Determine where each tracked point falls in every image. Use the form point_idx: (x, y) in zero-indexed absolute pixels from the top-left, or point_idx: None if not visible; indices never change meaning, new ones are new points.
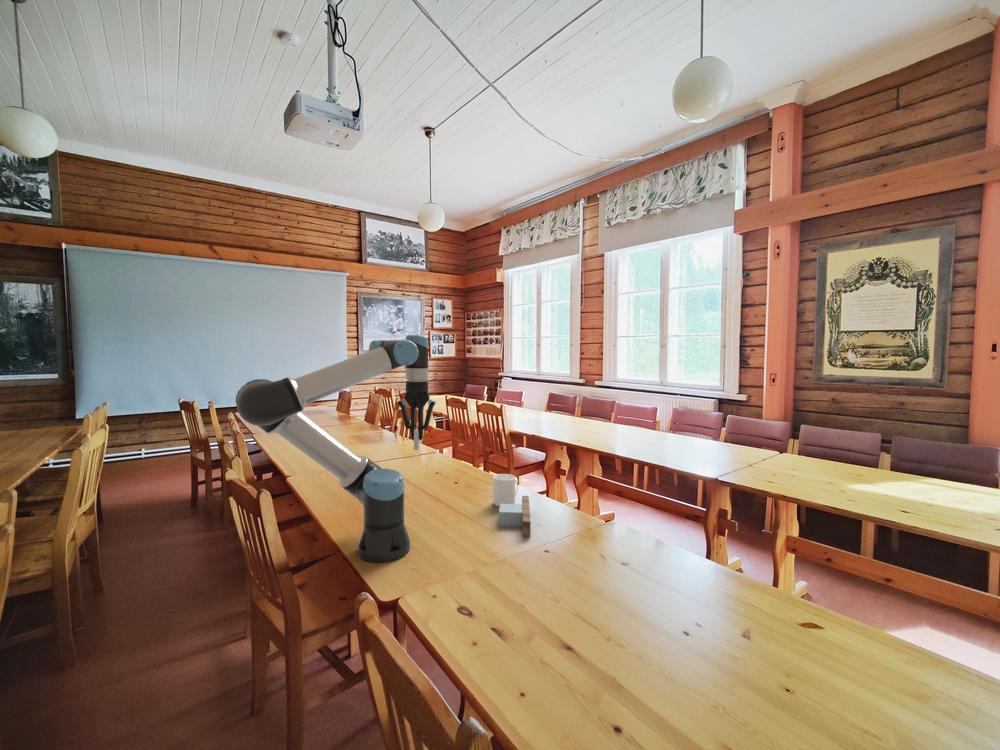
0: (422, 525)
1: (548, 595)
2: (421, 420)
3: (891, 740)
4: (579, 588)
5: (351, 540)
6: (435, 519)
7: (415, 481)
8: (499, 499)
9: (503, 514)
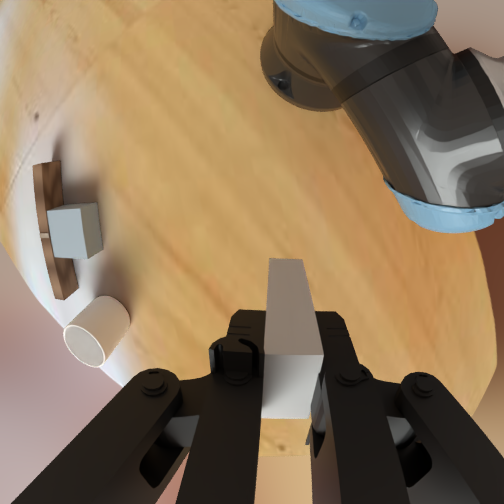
0: (261, 188)
1: (56, 15)
2: (183, 485)
3: None
4: (27, 42)
5: None
6: (236, 226)
7: None
8: (106, 304)
9: (76, 207)
